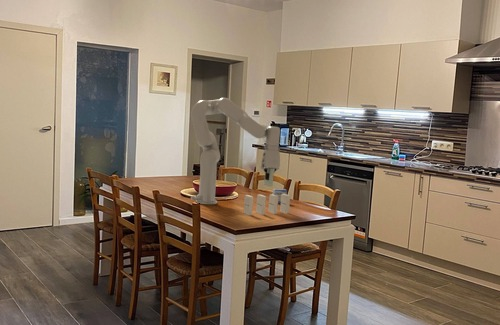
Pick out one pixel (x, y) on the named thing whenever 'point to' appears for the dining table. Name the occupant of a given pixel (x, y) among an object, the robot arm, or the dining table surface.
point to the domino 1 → (248, 204)
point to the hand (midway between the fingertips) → (268, 179)
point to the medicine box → (279, 193)
